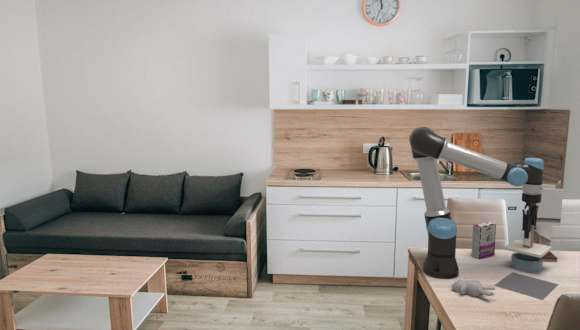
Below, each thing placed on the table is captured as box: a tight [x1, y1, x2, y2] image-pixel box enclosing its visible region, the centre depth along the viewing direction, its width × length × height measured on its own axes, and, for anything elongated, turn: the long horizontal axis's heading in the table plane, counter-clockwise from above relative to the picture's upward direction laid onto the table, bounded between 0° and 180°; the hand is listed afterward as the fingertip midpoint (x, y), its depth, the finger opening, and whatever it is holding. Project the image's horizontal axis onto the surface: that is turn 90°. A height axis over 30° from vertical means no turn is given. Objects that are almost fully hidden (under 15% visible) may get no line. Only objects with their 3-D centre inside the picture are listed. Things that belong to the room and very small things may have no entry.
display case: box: [533, 184, 564, 263], centre depth 206 cm, size 11×11×35 cm
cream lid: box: [503, 225, 553, 258], centre depth 193 cm, size 15×15×11 cm
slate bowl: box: [510, 252, 544, 273], centre depth 195 cm, size 12×12×6 cm
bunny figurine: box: [451, 279, 496, 298], centre depth 170 cm, size 10×5×15 cm
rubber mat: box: [493, 271, 560, 301], centre depth 176 cm, size 20×18×1 cm
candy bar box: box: [471, 221, 497, 260], centre depth 210 cm, size 11×5×16 cm, turn 117°
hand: (528, 243), depth 193 cm, fingers closed on cream lid, 3 cm apart
